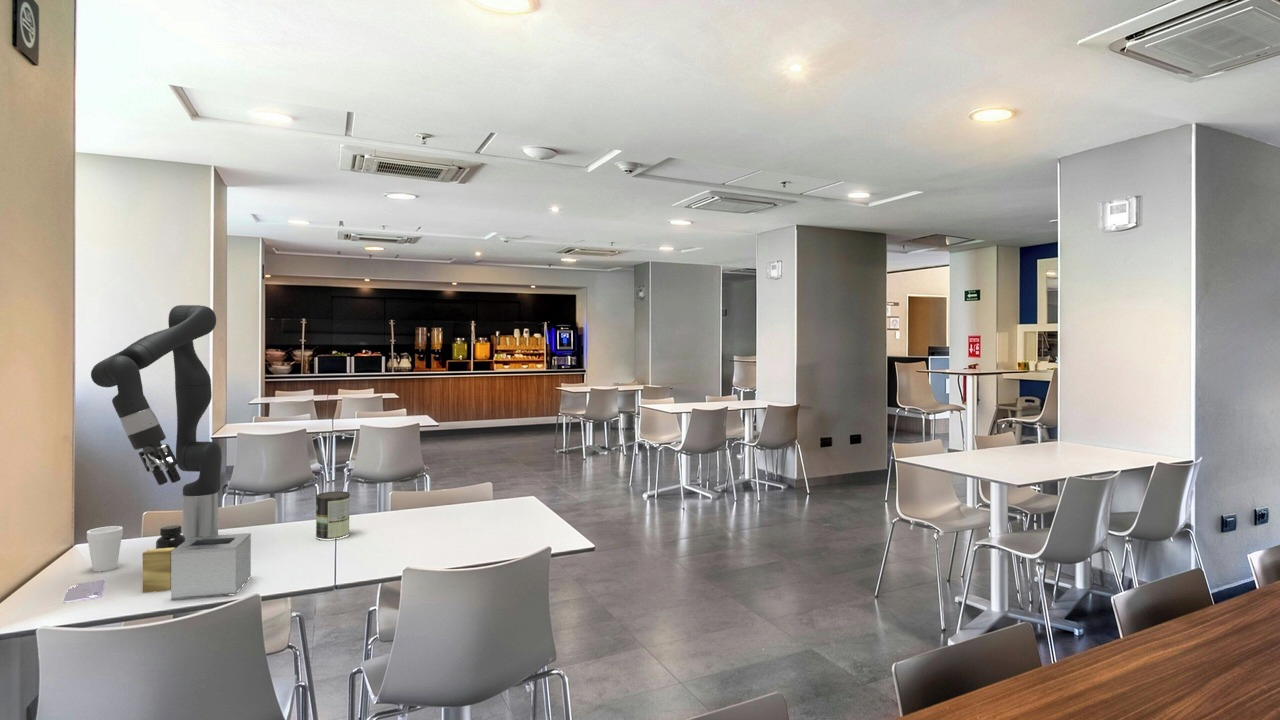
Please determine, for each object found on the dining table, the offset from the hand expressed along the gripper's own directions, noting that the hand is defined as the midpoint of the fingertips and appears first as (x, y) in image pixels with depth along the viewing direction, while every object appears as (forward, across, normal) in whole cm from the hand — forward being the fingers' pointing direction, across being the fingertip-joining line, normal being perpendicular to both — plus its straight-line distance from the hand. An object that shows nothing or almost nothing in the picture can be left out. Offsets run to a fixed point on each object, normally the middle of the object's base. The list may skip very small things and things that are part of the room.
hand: (170, 482), depth 184 cm
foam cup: (+18, +25, +15) cm, 34 cm away
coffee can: (+39, +6, -37) cm, 54 cm away
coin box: (+28, -16, +7) cm, 33 cm away
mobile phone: (+18, +7, +25) cm, 32 cm away
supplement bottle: (+24, +10, +6) cm, 26 cm away
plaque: (+23, -5, +15) cm, 28 cm away
